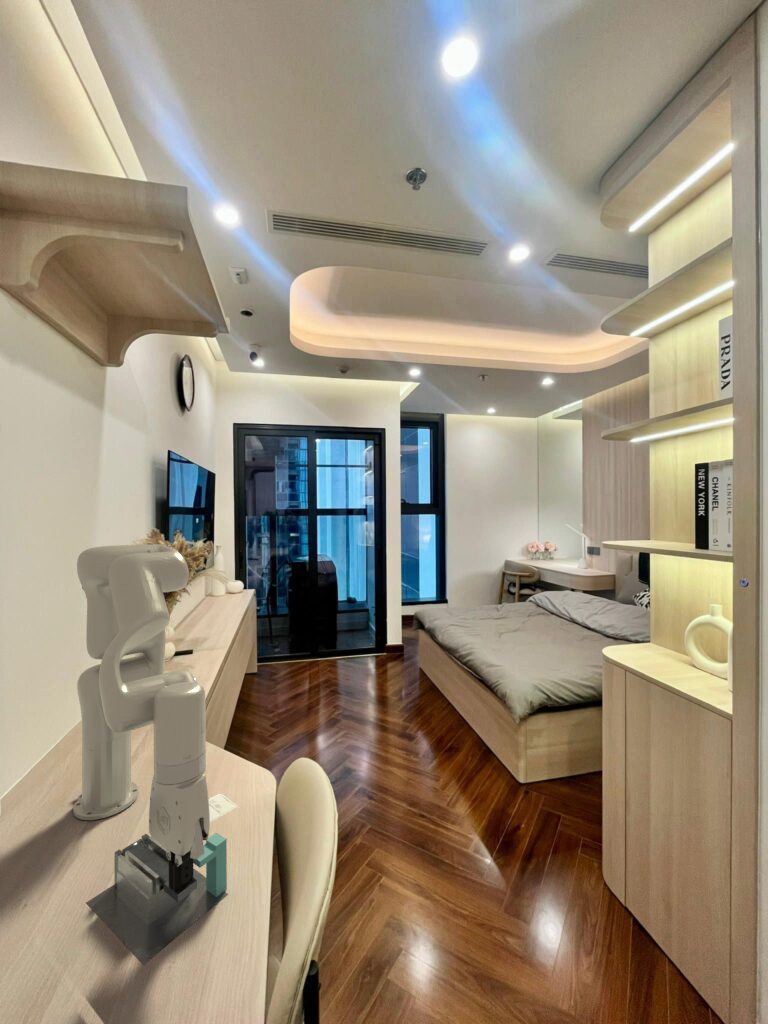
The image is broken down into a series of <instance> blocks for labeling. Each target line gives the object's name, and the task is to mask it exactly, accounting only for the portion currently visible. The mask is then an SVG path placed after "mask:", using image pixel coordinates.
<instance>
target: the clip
mask: <svg viewBox="0 0 768 1024" xmlns="http://www.w3.org/2000/svg"><path fill="white" fill-rule="evenodd" d="M203 845H204V855H202V856H201V857H199V858H198V859H193V865H195V866H197V867H198V868H199V869H200V868H202V867H203V866H205V865H206V866H205V867H206V868H205V869H206V870H205V871H206V874H205V877H206V890H207V891H209V892H210V893H211V894H213V895H214V896H215V897H218V896H219V895H220V894H221V893H222V892H224V891H225V892H226V891H227V889H228V888H227V887H228V884H227V883H228V882H227V881H228V880H227V879H228V878H227V873H228V870H227V869H228V868H227V861H228V860H227V853H228V852H227V850H228V849H227V838H226V837H224V836H222V835H221V834H219V833H218V832H215V833H214V834H213V835H211V836H208V839H207V840H205V843H203Z"/></svg>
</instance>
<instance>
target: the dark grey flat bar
mask: <svg viewBox="0 0 768 1024" xmlns="http://www.w3.org/2000/svg"><path fill="white" fill-rule="evenodd" d="M121 851H122V852H123V856H124V857H125V852H126V851H129V852H130V853H132V854H133V855H134V856H135V857H137V858H138V859H139V860H140V861H141V862H143V863H144V864H145V865H146V866H147V867H149V868H150V869H151V870H152V871H154V872H155V873H156V874H157V875H158V876H159V883H160V884H161V885H163V886H164V891H165V892H166V893H167V894H168V895H169V896H171V897H172V898H173V899H174V900H175V901H177V902H179V901H181V900H182V899H183V898H185V897H186V896H187V895H188V894H190V893H191V892H192V891H194V890H195V889H196V888H197V880H196V879H195V878H193V879H192V880H190V881H189V882H188V883H186V884H185V885H184V886H182V887H181V888H179V889H178V890H177V891H174V890H173V888H170V887H169V863H168V862H167V861H165V860H164V859H163V858H161V857H160V856H159V855H157V854H156V853H155V852H153V851H152V850H151V849H149V848H148V847H147V846H145V845H144V844H143V841H142V838H140V839H138V840H136V841H135V842H134V841H133V843H131V844H129V845H128V846H126V847H124V848H123V849H121Z"/></svg>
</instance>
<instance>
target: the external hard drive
mask: <svg viewBox="0 0 768 1024" xmlns="http://www.w3.org/2000/svg"><path fill="white" fill-rule="evenodd" d="M208 799H209V813H210V823H212V822H214V821H215V820H217V819H219V818H221V817H223V816H224V815H226V814H228V813H229V812H231V811H233V810H235V809H236V808H238V807H239V806H238V804H236V803H234V802H233V801H232V800H230V799H229V798H228V797H227V796H225V795H224V794H223V793H218V794H216V795H214V796H212V797H210V798H208Z"/></svg>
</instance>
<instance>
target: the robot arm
mask: <svg viewBox="0 0 768 1024" xmlns="http://www.w3.org/2000/svg"><path fill="white" fill-rule="evenodd" d="M76 571H77V572H76V573H77V577H78V580H79V583H80V585H81V587H82V589H83V592H84V594H85V598H86V632H85V633H86V637H85V639H86V650H87V654H88V655H89V657H90V658H92V659H94V660H101V662H100V664H96V665H93V666H90V667H89V668H87V669H85V670H84V671H83V672H82V673H80V675H79V677H78V679H77V683H76V689H77V690H76V691H77V696H78V697H77V698H78V702H79V707H80V713H81V716H80V717H81V739H82V740H81V741H82V742H81V780H82V781H81V797H79V798H78V799H77V800H76V802H75V803H74V806H73V808H72V809H73V815H74V817H76V818H77V819H79V820H82V821H96V820H97V821H98V820H101V819H102V820H103V819H104V818H105V819H106V818H109V817H111V816H115V815H116V814H119V813H120V812H122V811H124V810H125V809H127V808H129V807H130V806H131V805H132V804H133V803H134V802H135V801H136V800H137V799H138V797H139V794H140V793H139V792H140V791H139V790H140V788H139V786H138V784H137V783H135V782H132V731H134V730H136V729H141V728H144V727H147V726H150V725H153V777H152V781H151V789H150V798H149V810H148V811H149V812H148V813H149V814H148V816H149V817H148V831H149V832H148V833H149V836H150V837H153V838H154V839H155V840H156V841H158V842H159V843H160V844H162V845H163V846H164V847H166V853H167V858H168V860H171V861H169V887H170V888H173V890H174V891H177V890H178V889H179V888H181V887H182V886H184V885H185V884H186V883H188V882H189V881H190V880H192V879H193V868H194V863H193V859H198V858H199V857H201V856H202V855H204V841H206V840H207V839H208V838H209V837H210V836H209V835H210V830H211V829H210V828H211V827H210V826H211V825H210V824H211V822H210V813H209V799H210V798H209V789H208V783H207V777H206V774H205V773H206V770H207V749H206V747H207V745H206V742H207V741H206V740H207V739H206V736H207V735H206V734H207V733H206V729H207V728H206V690H205V688H204V687H203V685H201V684H200V683H198V681H197V678H196V677H195V676H194V675H193V674H192V673H191V672H190V671H189V670H184V669H183V670H182V669H180V670H174V671H170V672H165V670H166V669H165V668H166V667H165V661H166V628H167V626H168V625H169V622H170V619H171V617H170V612H169V609H168V605H167V602H166V598H165V595H164V593H169V592H176V591H180V590H183V589H184V588H185V587H186V586H187V584H188V582H189V577H190V573H189V572H190V571H189V565H188V563H187V561H186V559H185V557H184V556H183V555H182V554H181V553H180V552H179V551H177V550H176V549H174V548H171V547H169V546H167V545H164V544H161V543H160V544H159V543H155V544H154V543H153V544H130V545H128V544H125V545H124V544H123V545H122V544H121V545H120V544H118V545H117V544H116V545H104V546H103V545H102V546H96V547H95V546H94V547H90V548H87V549H85V550H83V551H82V552H81V553H80V554H79V555H78V557H77V562H76ZM140 653H141V655H137V656H133V657H128V658H124V656H129V655H130V656H131V655H135V654H140Z"/></svg>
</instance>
